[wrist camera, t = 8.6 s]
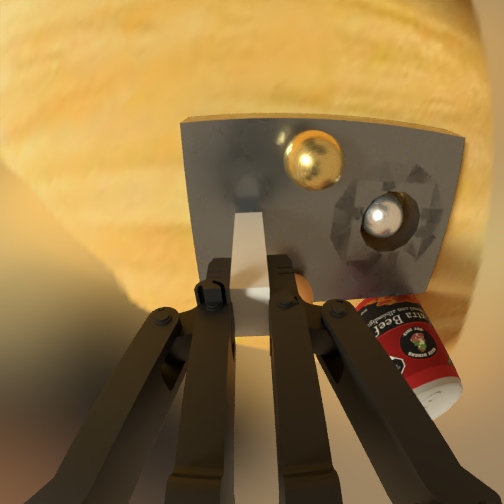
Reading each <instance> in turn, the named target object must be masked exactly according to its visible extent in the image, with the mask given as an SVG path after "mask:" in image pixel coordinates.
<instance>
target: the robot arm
mask: <svg viewBox="0 0 504 504" xmlns="http://www.w3.org/2000/svg"><path fill="white" fill-rule="evenodd" d="M194 291H195V296H196V301H197V307H195V308H194V309H192V310H189V311H186V312H182V313H178V312H177V311H176V310H175V309H174V308H171V307H162V308H158V309H156V310H154V311H152V313H151V314H150V315H149V316H148V318H147V319H146V321H145V322H144V324H143V325H142V327H141V328H140V330H139V332H138V333H137V335H136V336H135V338H134V339H133V341H132V343H131V344H130V346H129V347H128V349H127V351H126V352H125V354H124V355H123V357H122V358H121V360H120V362H119V363H118V365H117V367H116V368H115V370H114V372H113V373H112V375H111V376H110V378H109V380H108V382H107V383H106V385H105V387H104V388H103V390H102V392H101V394H100V395H99V397H98V399H97V400H96V402H95V404H94V405H93V407H92V409H91V411H90V412H89V414H88V416H87V418H86V419H85V421H84V423H83V425H82V426H81V428H80V430H79V432H78V433H77V435H76V437H75V439H74V441H73V443H72V444H71V447H70V448H69V450H68V452H67V454H66V456H65V457H64V459H63V461H62V463H61V465H60V467H59V469H58V471H57V473H56V475H55V477H54V478H53V479H52V480H51V481H49V482H48V483H47V484H46V485H45V486H44V487H43V488H42V489H40V490H39V491H38V492H37V493H36V494H35V495H33V496H32V497H31V498H30V499H29V500H28V501H27V502H25V503H24V504H128V502H129V500H130V498H131V496H132V493H133V491H134V489H135V487H136V484H137V482H138V480H139V477H140V475H141V473H142V470H143V468H144V466H145V464H146V461H147V459H148V456H149V454H150V452H151V450H152V447H153V445H154V443H155V441H156V439H157V436H158V434H159V432H160V430H161V427H162V425H163V423H164V421H165V418H166V416H167V414H168V412H169V409H170V407H171V405H172V402H173V400H174V398H175V396H176V394H177V391H178V389H179V387H180V385H181V382H182V380H183V378H184V376H185V373H186V371H187V374H186V380H185V387H184V395H183V402H182V409H181V417H180V425H179V434H178V442H177V451H176V459H175V467H174V471H173V473H172V474H171V475H170V476H169V478H168V481H167V485H166V494H165V504H235V498H234V414H235V412H234V411H235V363H236V344H235V337H242V336H266V335H270V356H271V369H272V383H273V399H274V413H275V429H276V447H277V463H278V481H279V504H343V502H342V494H341V487H340V482H339V477H338V474H337V472H336V471H335V470H334V468H333V465H332V459H331V452H330V446H329V439H328V433H327V427H326V421H325V416H324V409H323V403H322V398H321V392H320V386H319V381H318V375H317V370H316V365H315V359H314V354H316V357H317V359H318V361H319V363H320V364H321V366H322V368H323V370H324V372H325V374H326V376H327V378H328V380H329V382H330V384H331V386H332V388H333V389H334V391H335V393H336V395H337V397H338V399H339V401H340V403H341V405H342V407H343V409H344V411H345V413H346V415H347V417H348V418H349V420H350V422H351V424H352V426H353V428H354V430H355V432H356V434H357V436H358V438H359V440H360V442H361V444H362V446H363V448H364V450H365V452H366V453H367V456H368V457H369V459H370V461H371V463H372V465H373V467H374V469H375V471H376V473H377V475H378V477H379V479H380V481H381V483H382V485H383V487H384V489H385V491H386V493H387V495H388V497H389V498H390V500H391V501H392V503H393V504H502V503H501V498H500V496H499V495H498V494H497V493H496V492H495V491H494V490H492V489H491V488H490V487H488V486H487V485H486V484H484V483H483V482H481V481H480V480H479V479H477V478H476V477H475V476H473V475H472V474H471V473H469V472H468V471H467V470H465V469H464V468H463V467H461V466H460V464H459V462H458V461H457V459H456V457H455V456H454V454H453V452H452V451H451V449H450V448H449V446H448V444H447V443H446V441H445V440H444V438H443V436H442V435H441V433H440V432H439V430H438V428H437V427H436V425H435V424H434V422H433V420H432V419H431V417H430V416H429V414H428V413H427V411H426V410H425V408H424V407H423V405H422V403H421V402H420V400H419V399H418V397H417V396H416V394H415V393H414V391H413V390H412V388H411V387H410V385H409V384H408V382H407V381H406V380H405V378H404V377H403V375H402V374H401V372H400V371H399V369H398V368H397V366H396V365H395V363H394V362H393V361H392V359H391V358H390V356H389V355H388V353H387V352H386V351H385V349H384V348H383V346H382V345H381V344H380V342H379V341H378V339H377V338H376V337H375V335H374V334H373V332H372V331H371V330H370V328H369V327H368V325H367V324H366V323H365V321H364V320H363V319H362V317H361V316H360V314H359V313H358V312H357V310H356V309H355V308H354V306H353V305H352V304H351V303H350V302H348V301H346V300H343V299H331V300H329V301H326V302H325V303H324V304H323V306H318V305H313V304H309V303H307V302H305V301H304V300H303V299H302V298H301V296H300V295H299V293H298V288H297V284H296V279H295V274H294V269H293V265H292V260H291V259H290V258H289V257H288V256H287V255H286V254H277V255H266V247H265V237H264V227H263V217H262V212H250V213H235V221H234V234H233V248H232V257H228V258H213V260H212V261H211V262H210V263H209V264H208V269H207V275H206V279H205V280H203V281H201V282H199V283H198V284H197V285H196V287H195V289H194ZM313 353H314V354H313Z"/></svg>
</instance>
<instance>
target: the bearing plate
mask: <svg viewBox="0 0 504 504" xmlns="http://www.w3.org/2000/svg"><path fill="white" fill-rule="evenodd" d="M180 128H181V139H182V149H183V159H184V168H185V177H186V186H187V194H188V203H189V210H190V218H191V226H192V233H193V240H194V247H195V254H196V260H197V267H198V273H199V279H200V282H201V281H203V280H205V279H206V275H207V269H208V264H209V263H210V262H211V261H212V260H213V258H228V257H232V248H233V234H234V221H235V213H250V212H262V217H263V227H264V237H265V247H266V255H277V254H286V255H287V256H288V257H289V258H290V259H291V260H292V265H293V269H294V273H295V274H298V275H300V276H302V277H304V278H305V279H306V280H307V281H308V282H309V284H310V285H311V288H312V290H313V302H320V301H329V300H331V299H343V300H350V299H363V298H375V297H387V296H398V295H408V294H417V293H425V291H426V289H427V286H428V283H429V281H430V278H431V275H432V272H433V269H434V266H435V263H436V260H437V257H438V254H439V251H440V248H441V245H442V241H443V238H444V235H445V231H446V227H447V224H448V220H449V216H450V212H451V208H452V204H453V200H454V196H455V191H456V187H457V182H458V177H459V172H460V166H461V161H462V155H463V148H464V142H465V138H464V137H462V136H460V135H457V134H455V133H452V132H450V131H448V130H445V129H440V128H435V127H429V126H424V125H418V124H412V123H405V122H398V121H391V120H383V119H374V118H365V117H354V116H342V115H326V114H301V113H252V114H227V115H211V116H198V117H188V118H187V119H185V120H184V121H182V122H181V123H180ZM307 130H320V131H323V132H326V133H328V134H330V135H331V136H333V137H334V138H335V139H336V140H337V141H338V142H339V143H340V145H341V147H342V149H343V151H344V155H345V168H344V172H343V174H342V176H341V178H340V179H339V180H338V182H337V183H336V184H334V185H333V186H332V187H330V188H328V189H325V190H322V191H309V190H305V189H302V188H300V187H299V186H297V185H296V184H294V183H293V182H292V181H291V180H290V178H289V177H288V175H287V173H286V171H285V169H284V164H283V155H284V151H285V148H286V146H287V144H288V143H289V141H290V140H291V139H292V138H293V137H294V136H295V135H297V134H299V133H301V132H303V131H307ZM389 191H392V192H402V193H403V196H404V199H405V204H404V209H403V213H404V217H403V222H402V225H401V227H400V228H399V230H398V231H397V232H396V233H395V234H393V235H391V236H389V237H385V238H378V237H374V236H372V235H370V234H365V233H364V232H362V231H360V228H361V222H362V216H363V213H364V212H365V211H366V209H367V208H368V207H369V205H370V204H371V202H372V201H373V200H374V199H376V198H378V197H380V196H381V195H383V194H385V193H387V192H389Z"/></svg>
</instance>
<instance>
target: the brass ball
mask: <svg viewBox="0 0 504 504" xmlns="http://www.w3.org/2000/svg"><path fill="white" fill-rule="evenodd" d="M283 164H284V169H285V171H286V173H287V175H288V177H289V178H290V180H291V181H292V182H293V183H294V184H296V185H297V186H299V187H300V188H302V189H305V190H309V191H322V190H325V189H328V188H330V187H332V186H333V185H334V184H336V183H337V182H338V180H339V179H340V178H341V176H342V174H343V172H344V168H345V155H344V151H343V149H342V147H341V145H340V143H339V142H338V141H337V140H336V139H335V138H334V137H333V136H331V135H330V134H328V133H326V132H323V131H320V130H307V131H303V132H301V133H299V134H297V135H295V136H294V137H293V138H292V139H291V140H290V141H289V143H288V144H287V146H286V148H285V151H284V155H283Z"/></svg>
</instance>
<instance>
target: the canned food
mask: <svg viewBox="0 0 504 504" xmlns="http://www.w3.org/2000/svg"><path fill="white" fill-rule="evenodd" d="M355 309H356V310H357V312H358V313H359V314H360V316H361V317H362V319H363V320H364V321H365V323H366V324H367V325H368V327H369V328H370V330H371V331H372V332H373V334H374V335H375V337H376V338H377V339H378V341H379V342H380V344H381V345H382V346H383V348H384V349H385V351H386V352H387V353H388V355H389V356H390V358H391V359H392V361H393V362H394V363H395V365H396V366H397V368H398V369H399V371H400V372H401V374H402V375H403V377H404V378H405V380H406V381H407V382H408V384H409V385H410V387H411V388H412V390H413V391H414V393H415V394H416V396H417V397H418V399H419V400H420V402H421V403H422V405H423V407H424V408H425V410H426V411H427V413H428V414H429V416H430V417H431V419H432V420H434V419H435V418H437V417H439V416H440V415H441V414H443V413H444V412H445V411H447V410H448V409H449V408H450V407H451V406H452V405H453V404H454V403H455V402H456V401H457V400H458V398H459V397H460V395H461V393H462V390H463V387H462V384H461V380H460V378H459V376H458V374H457V372H456V369H455V367H454V365H453V363H452V361H451V359H450V357H449V355H448V353H447V351H446V349H445V347H444V345H443V344H442V342H441V340H440V338H439V336H438V334H437V333H436V331H435V329H434V327H433V325H432V324H431V322H430V320H429V318H428V317H427V315H426V313H425V312H424V310H423V308H422V306H421V305H420V303H419V301H418V300H417V299H416V297H415V296H414V295H412V294H408V295H398V296H387V297H375V298H366V299H365V300H364V301H362V302H361V303H360V304H359V305H358V306H357V307H356V308H355Z"/></svg>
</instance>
